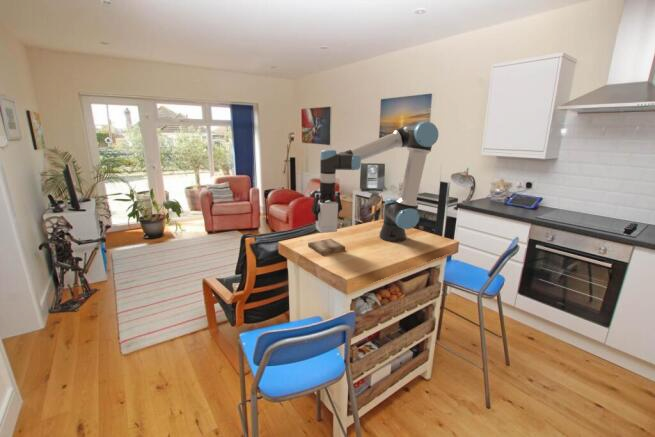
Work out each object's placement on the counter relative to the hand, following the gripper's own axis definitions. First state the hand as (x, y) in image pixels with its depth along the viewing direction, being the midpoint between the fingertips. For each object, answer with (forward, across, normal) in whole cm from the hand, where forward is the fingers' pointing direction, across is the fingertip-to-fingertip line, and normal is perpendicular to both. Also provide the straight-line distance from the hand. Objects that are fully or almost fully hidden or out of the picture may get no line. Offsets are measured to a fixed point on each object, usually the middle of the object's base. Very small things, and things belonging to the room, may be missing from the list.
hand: (326, 225), depth 158 cm
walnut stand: (+13, 0, 0) cm, 13 cm away
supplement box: (+3, 0, 0) cm, 3 cm away
